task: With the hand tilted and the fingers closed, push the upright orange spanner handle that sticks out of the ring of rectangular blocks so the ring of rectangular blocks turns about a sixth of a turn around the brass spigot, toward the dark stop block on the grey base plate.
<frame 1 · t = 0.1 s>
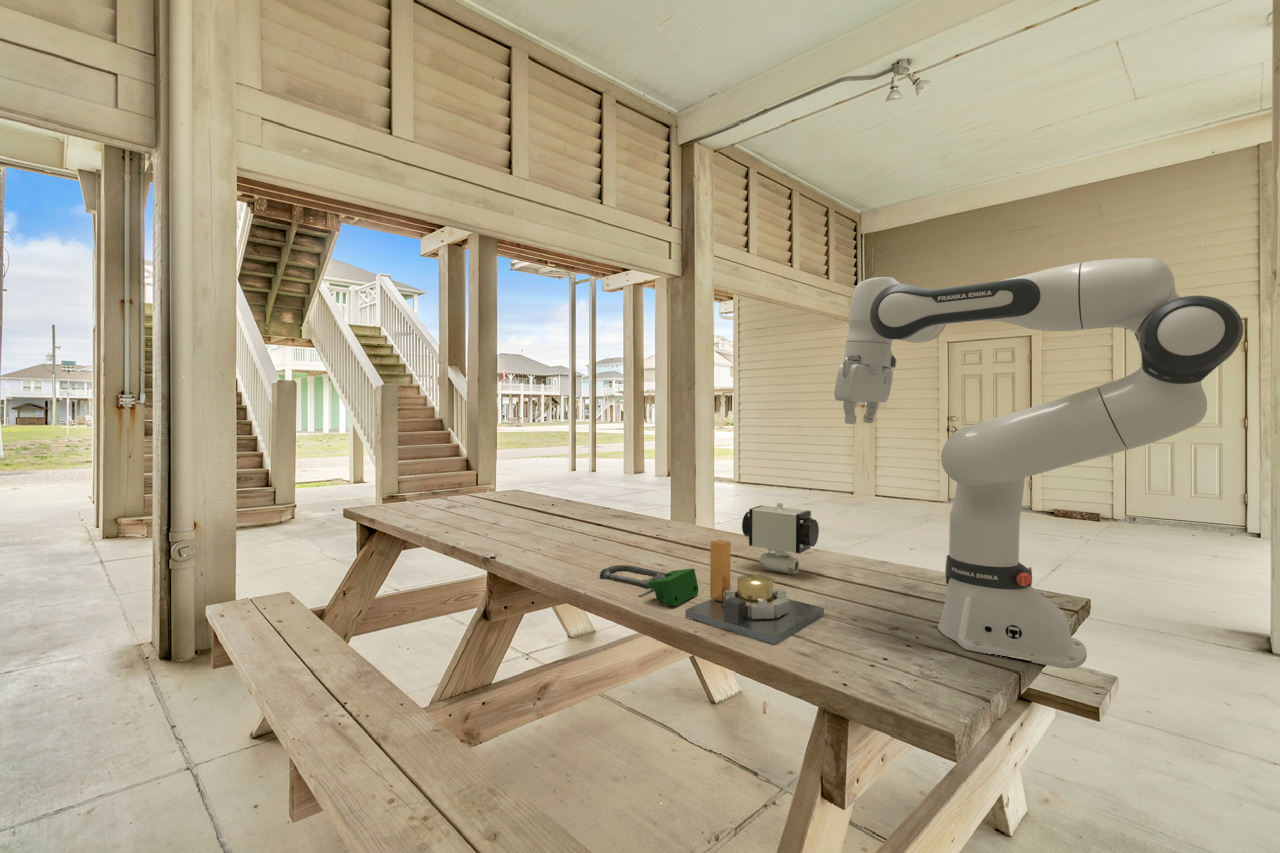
hand: (859, 423, 121), 39 cm above the table, tool pointing down, fingers open, 8 cm apart
ball valve: (780, 572, 148), on the table
base plate: (755, 616, 116), on the table
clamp: (673, 600, 127), on the table
c clamp: (632, 583, 141), on the table
ring of rectangular blocks: (747, 576, 117), point 8 cm above the table, hinge at 0.0°
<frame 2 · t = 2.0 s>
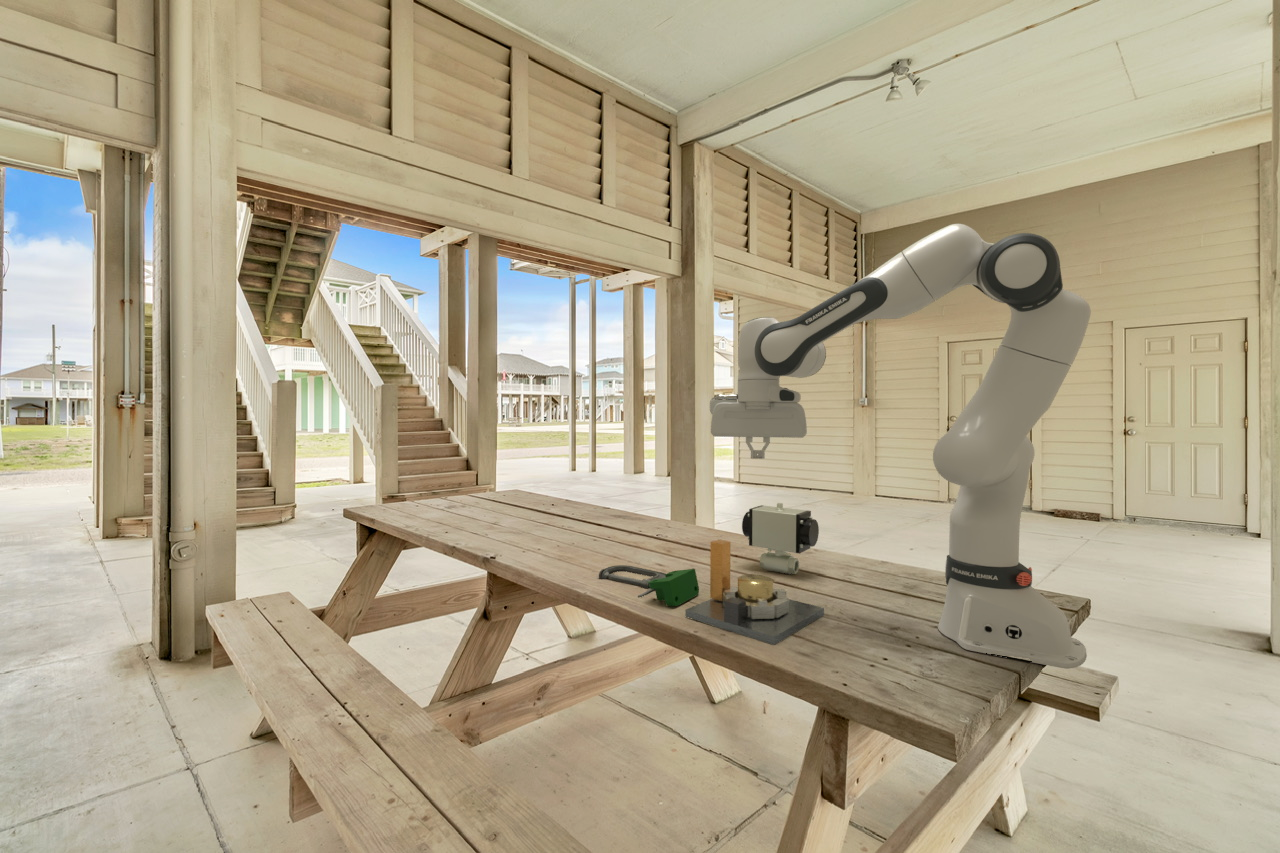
hand: (757, 458, 124), 31 cm above the table, tool pointing down, fingers closed
nothing on the table moved.
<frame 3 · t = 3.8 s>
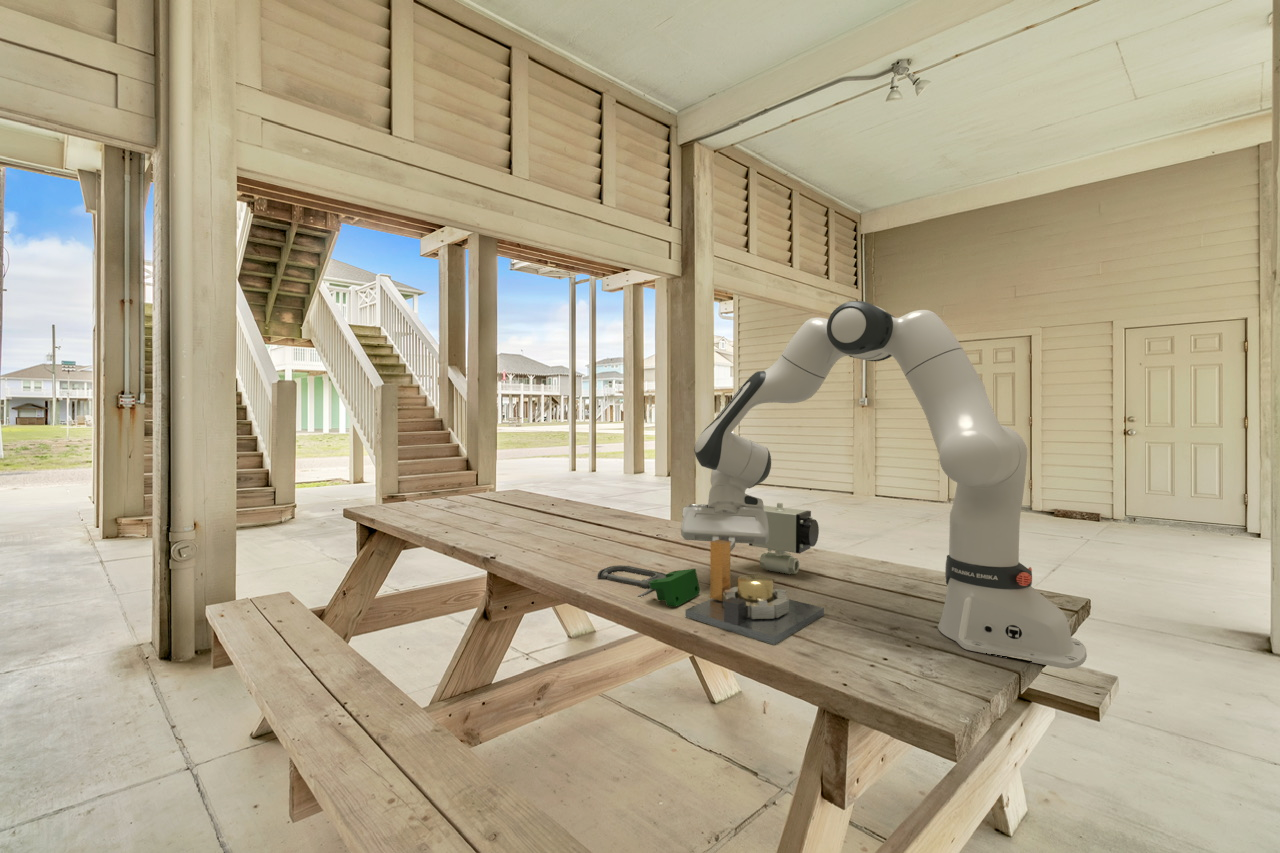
hand: (722, 556, 129), 9 cm above the table, tool tilted 45°, fingers closed
nothing on the table moved.
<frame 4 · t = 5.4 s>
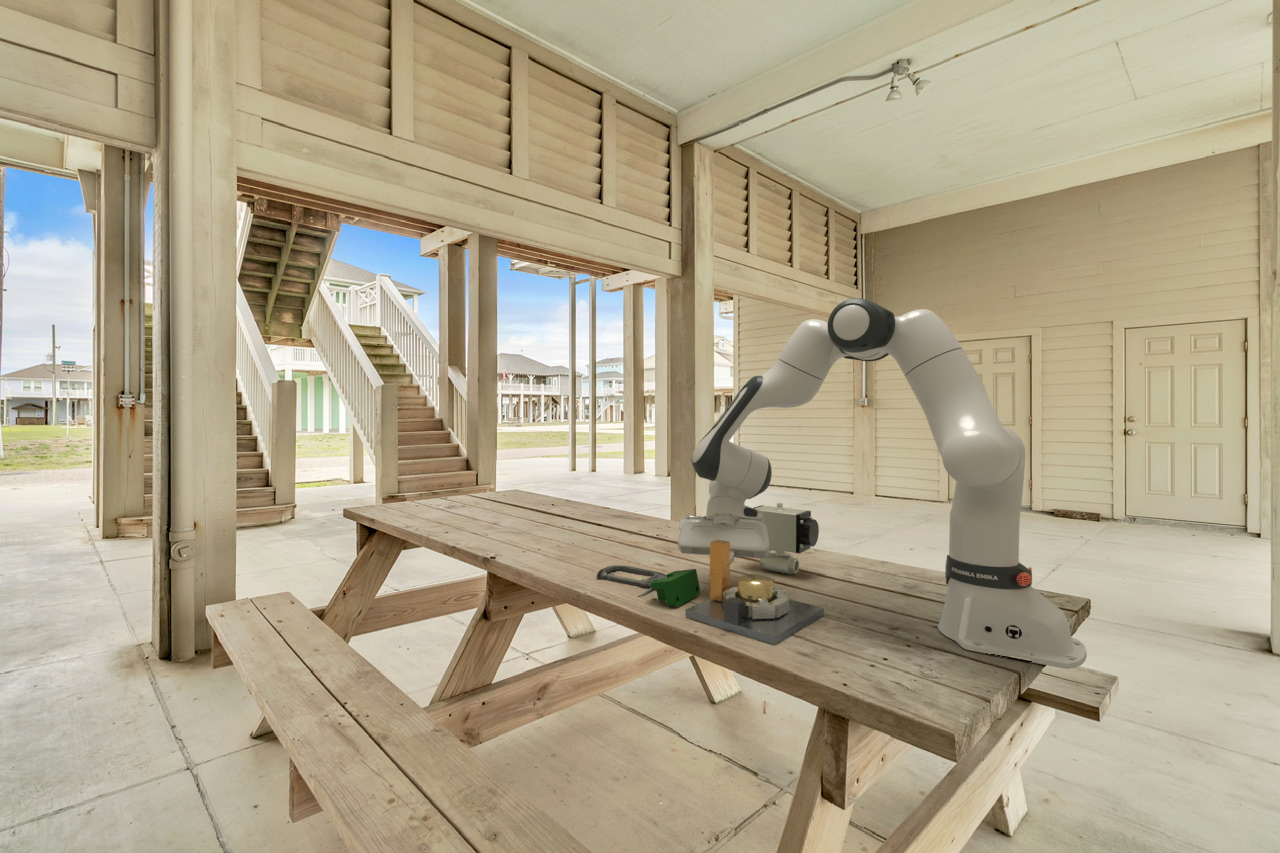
hand: (721, 571, 124), 7 cm above the table, tool tilted 45°, fingers closed
ring of rectangular blocks: (747, 576, 117), point 8 cm above the table, hinge at 1.4°, touching gripper
everything else where it was.
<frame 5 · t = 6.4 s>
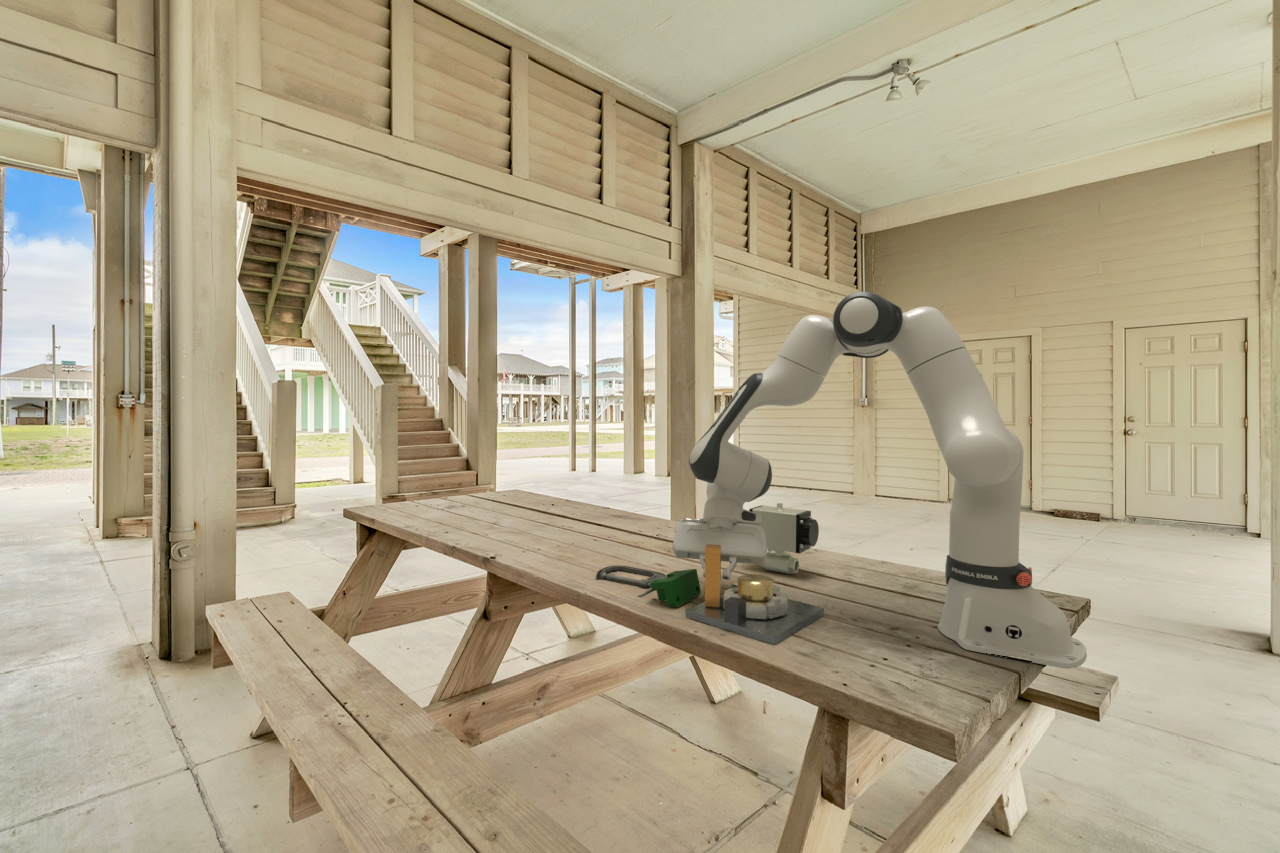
hand: (716, 577, 120), 7 cm above the table, tool tilted 45°, fingers open, 3 cm apart
ring of rectangular blocks: (745, 577, 116), point 8 cm above the table, hinge at 30.3°, touching gripper
everything else where it was.
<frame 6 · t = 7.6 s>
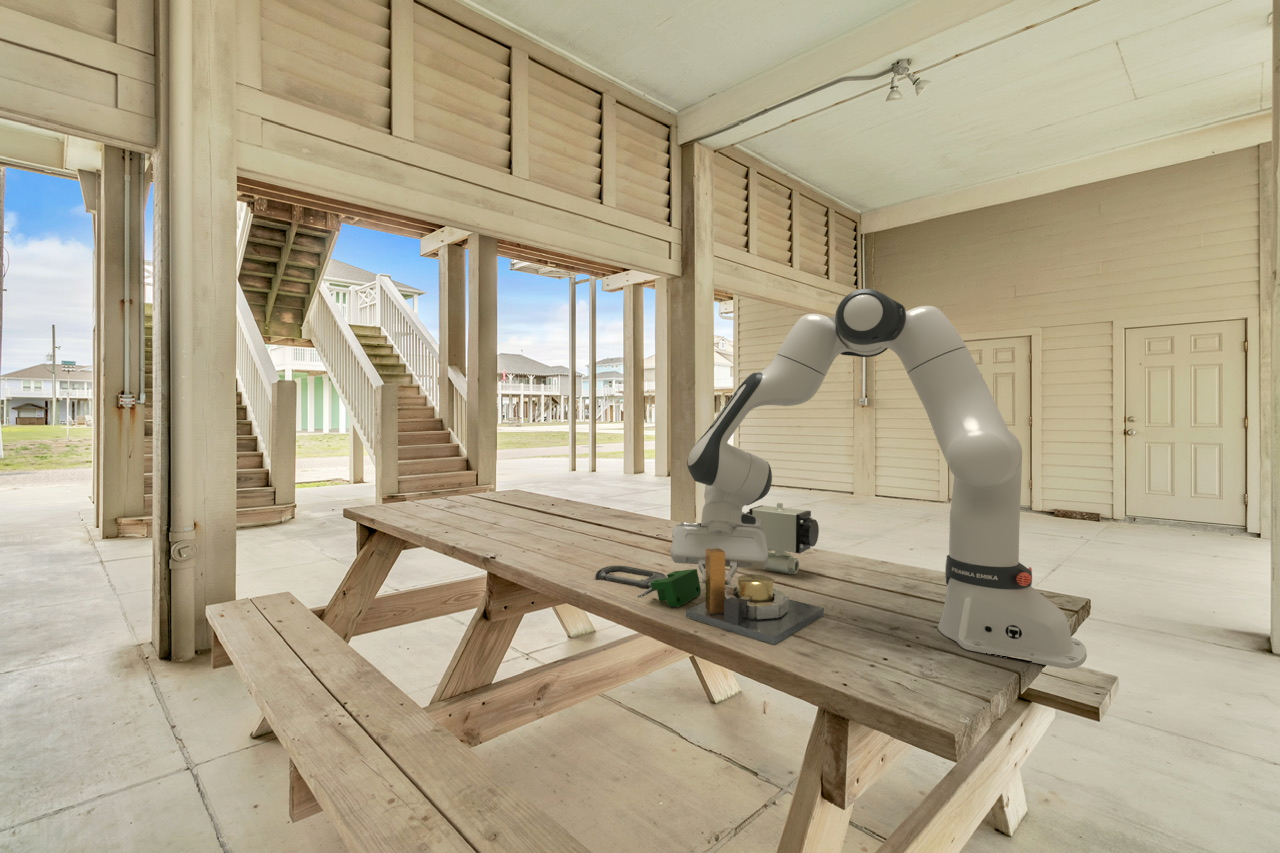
hand: (716, 583, 116), 7 cm above the table, tool tilted 45°, fingers open, 3 cm apart
ring of rectangular blocks: (746, 578, 116), point 8 cm above the table, hinge at 54.0°, touching gripper
everything else where it was.
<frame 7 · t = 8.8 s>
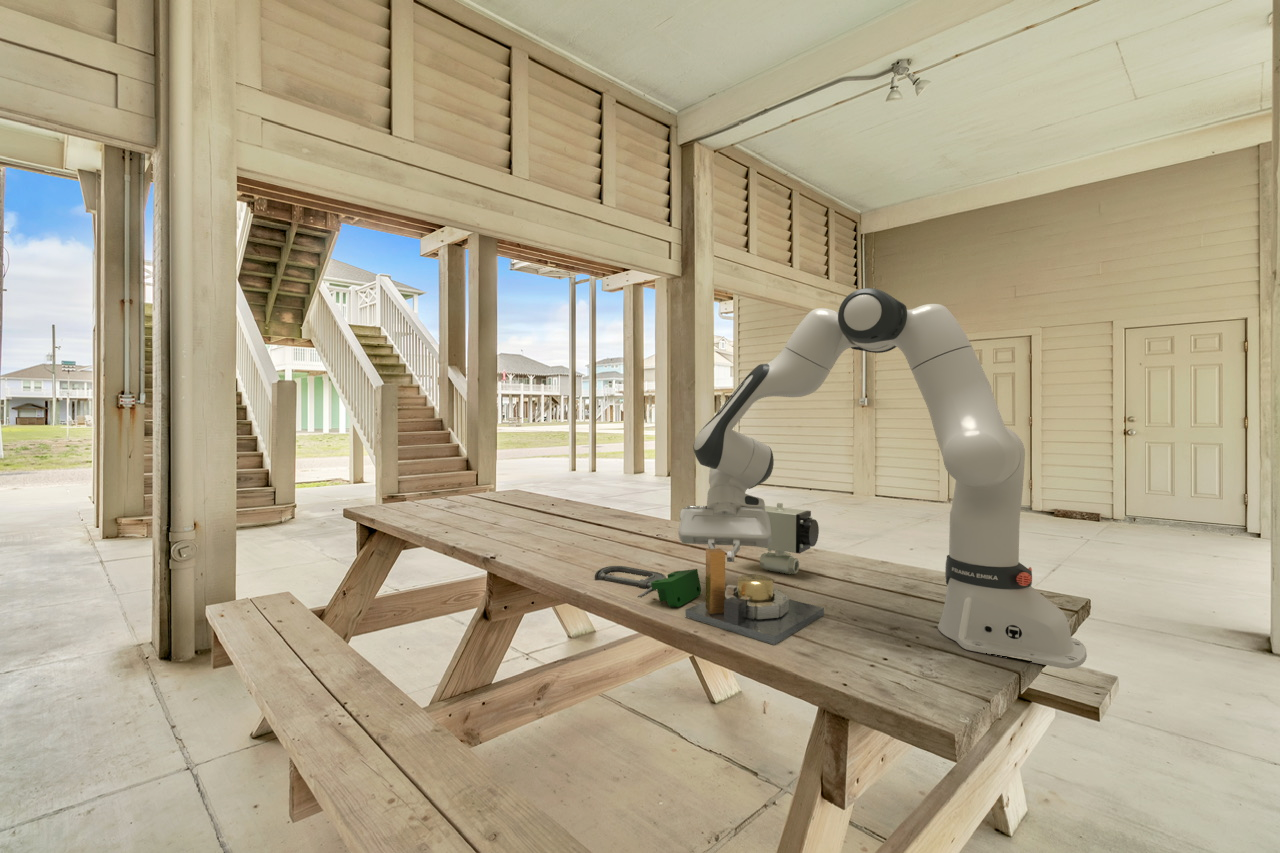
hand: (723, 560, 122), 10 cm above the table, tool tilted 45°, fingers closed
ring of rectangular blocks: (746, 578, 116), point 8 cm above the table, hinge at 54.5°
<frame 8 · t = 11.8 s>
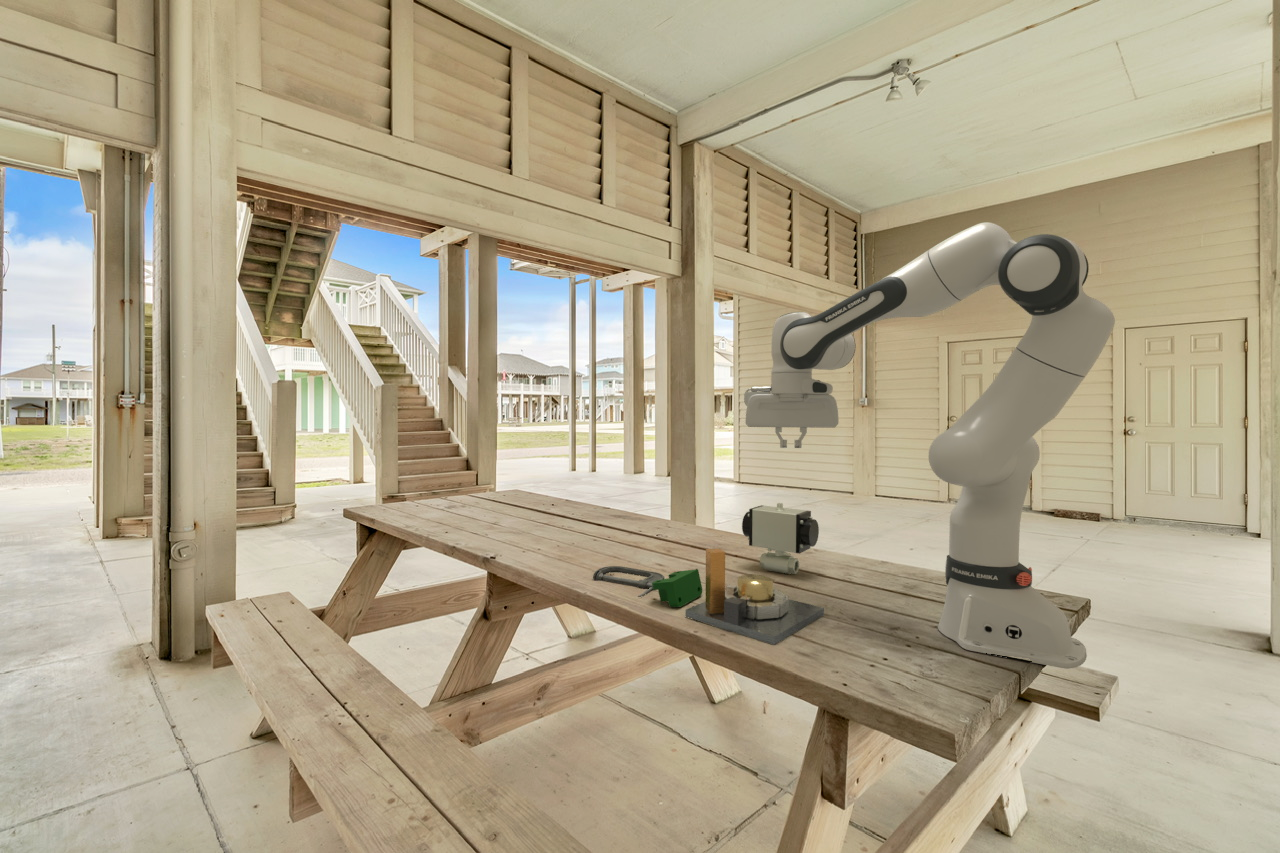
hand: (790, 447, 130), 33 cm above the table, tool pointing down, fingers closed
at the end: ring of rectangular blocks at +54° (first picture: +0°) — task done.
